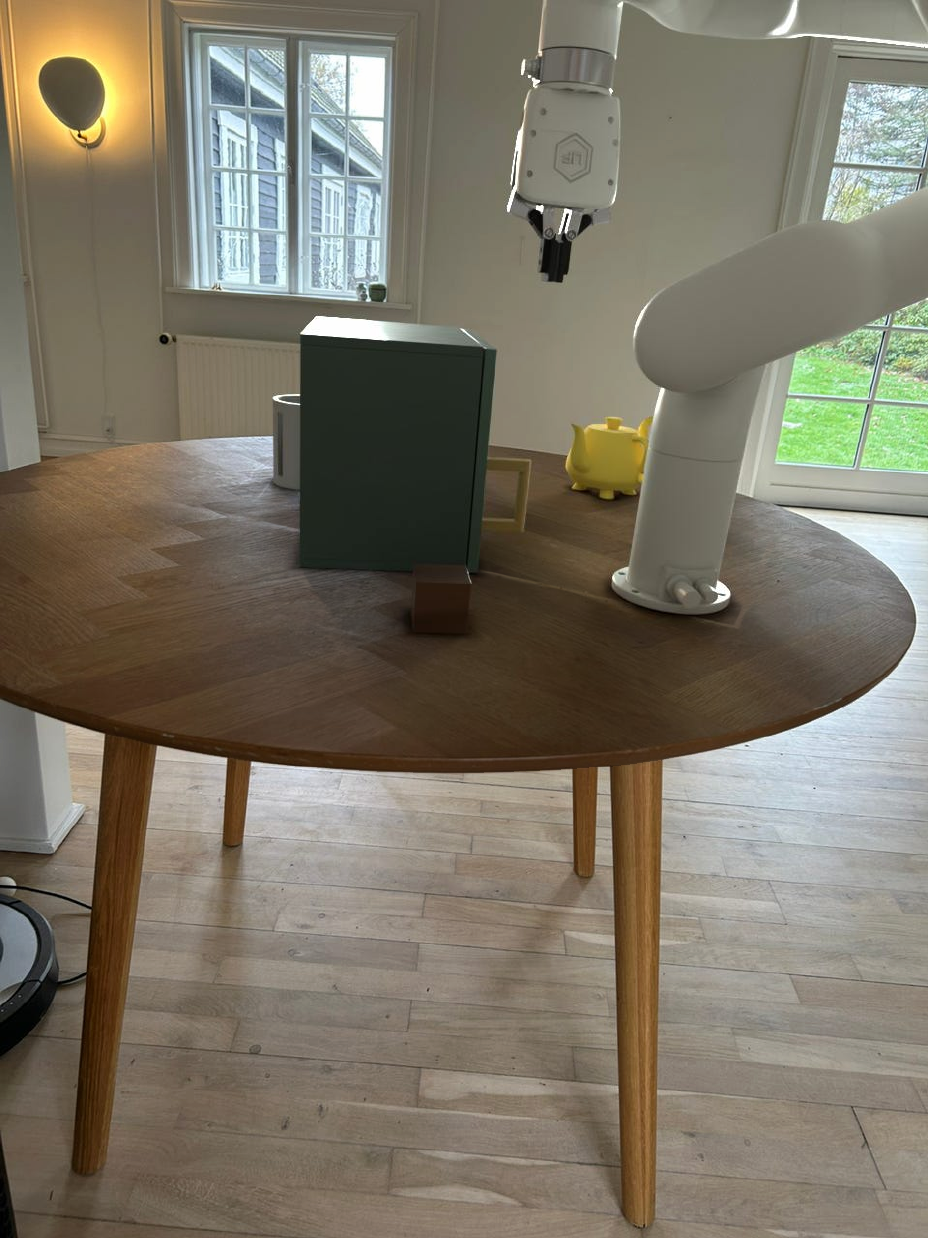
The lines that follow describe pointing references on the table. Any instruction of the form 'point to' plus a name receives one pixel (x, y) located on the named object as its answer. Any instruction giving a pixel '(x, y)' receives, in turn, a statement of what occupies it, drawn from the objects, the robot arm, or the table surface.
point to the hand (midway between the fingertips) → (551, 281)
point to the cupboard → (386, 443)
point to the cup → (286, 441)
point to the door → (491, 466)
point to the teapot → (608, 457)
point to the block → (440, 598)
